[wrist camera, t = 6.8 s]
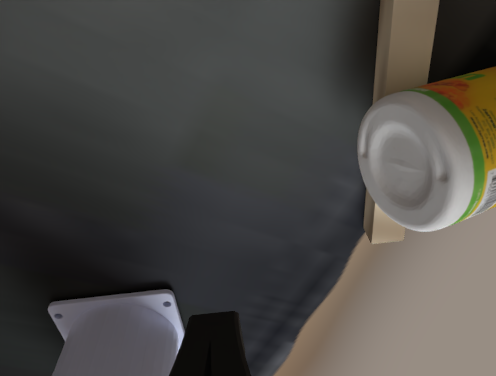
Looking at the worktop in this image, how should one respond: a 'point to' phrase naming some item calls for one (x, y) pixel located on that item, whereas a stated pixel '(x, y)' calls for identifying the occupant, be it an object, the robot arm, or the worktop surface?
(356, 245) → the worktop surface
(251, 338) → the worktop surface
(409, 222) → the supplement bottle
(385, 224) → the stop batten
